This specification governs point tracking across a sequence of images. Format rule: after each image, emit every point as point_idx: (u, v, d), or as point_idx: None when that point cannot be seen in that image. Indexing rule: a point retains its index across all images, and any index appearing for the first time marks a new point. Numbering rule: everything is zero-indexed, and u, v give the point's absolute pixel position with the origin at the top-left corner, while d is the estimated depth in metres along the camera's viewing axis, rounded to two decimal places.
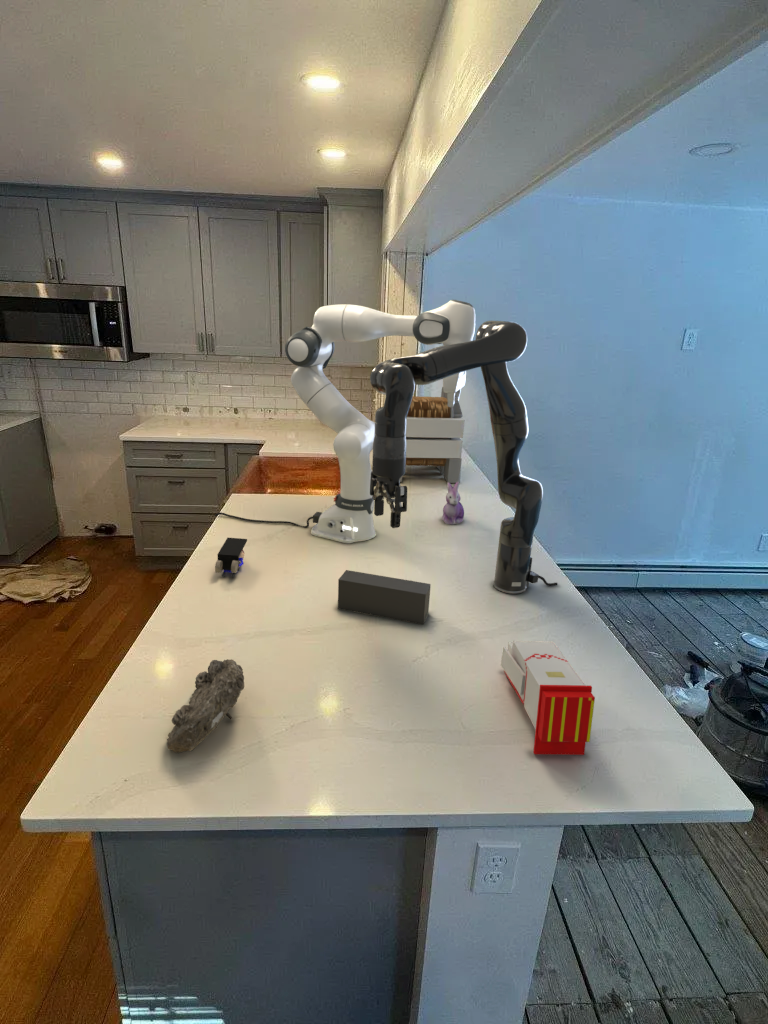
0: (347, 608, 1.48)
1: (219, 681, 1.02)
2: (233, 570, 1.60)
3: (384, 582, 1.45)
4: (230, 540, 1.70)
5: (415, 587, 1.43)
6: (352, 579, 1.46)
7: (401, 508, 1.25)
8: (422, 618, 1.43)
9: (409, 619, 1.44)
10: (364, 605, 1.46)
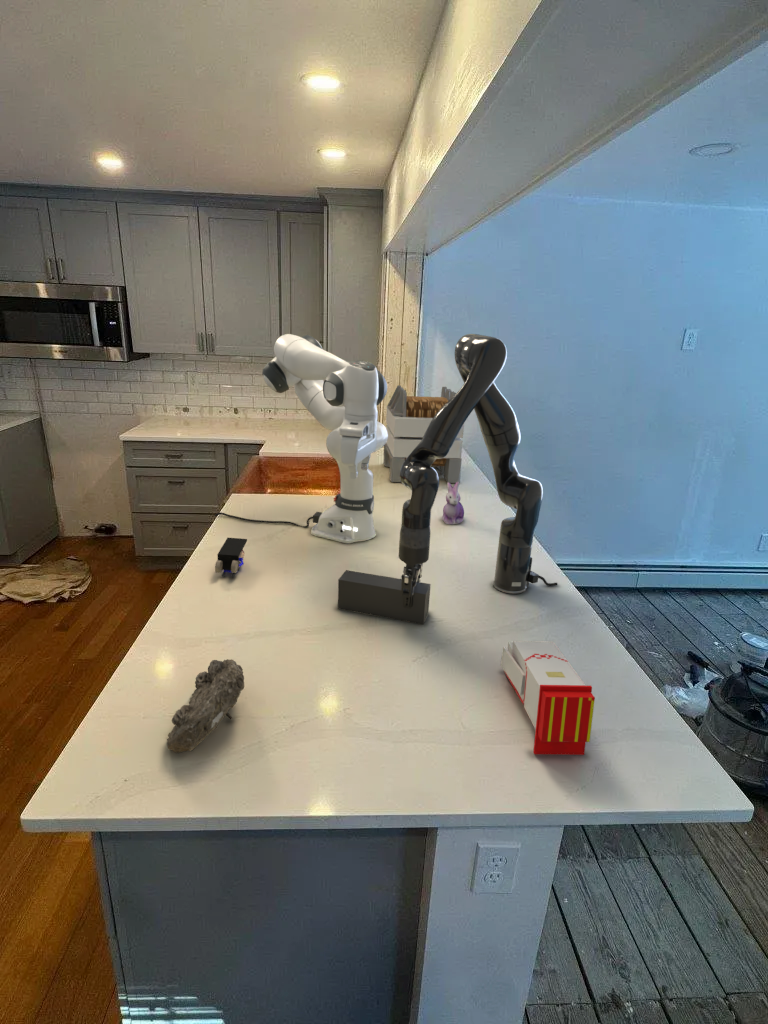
0: (347, 608, 1.48)
1: (219, 681, 1.02)
2: (233, 570, 1.60)
3: (384, 582, 1.45)
4: (230, 540, 1.70)
5: (415, 587, 1.43)
6: (352, 579, 1.46)
7: (406, 593, 1.38)
8: (422, 618, 1.43)
9: (409, 619, 1.44)
10: (364, 605, 1.46)
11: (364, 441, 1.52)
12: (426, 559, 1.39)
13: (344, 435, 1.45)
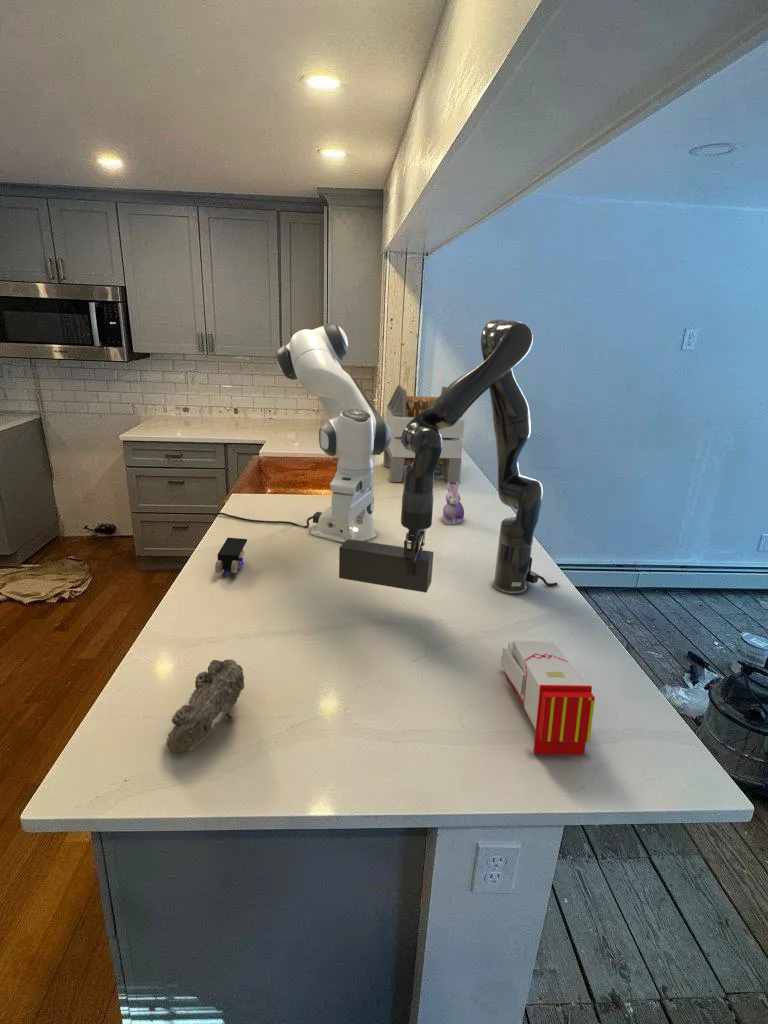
0: (349, 577, 1.45)
1: (219, 681, 1.02)
2: (233, 570, 1.60)
3: (386, 550, 1.42)
4: (230, 540, 1.70)
5: (417, 555, 1.40)
6: (353, 547, 1.43)
7: (408, 559, 1.35)
8: (425, 586, 1.40)
9: (412, 587, 1.41)
10: (366, 574, 1.43)
11: (358, 496, 1.39)
12: (429, 525, 1.36)
13: (335, 492, 1.32)
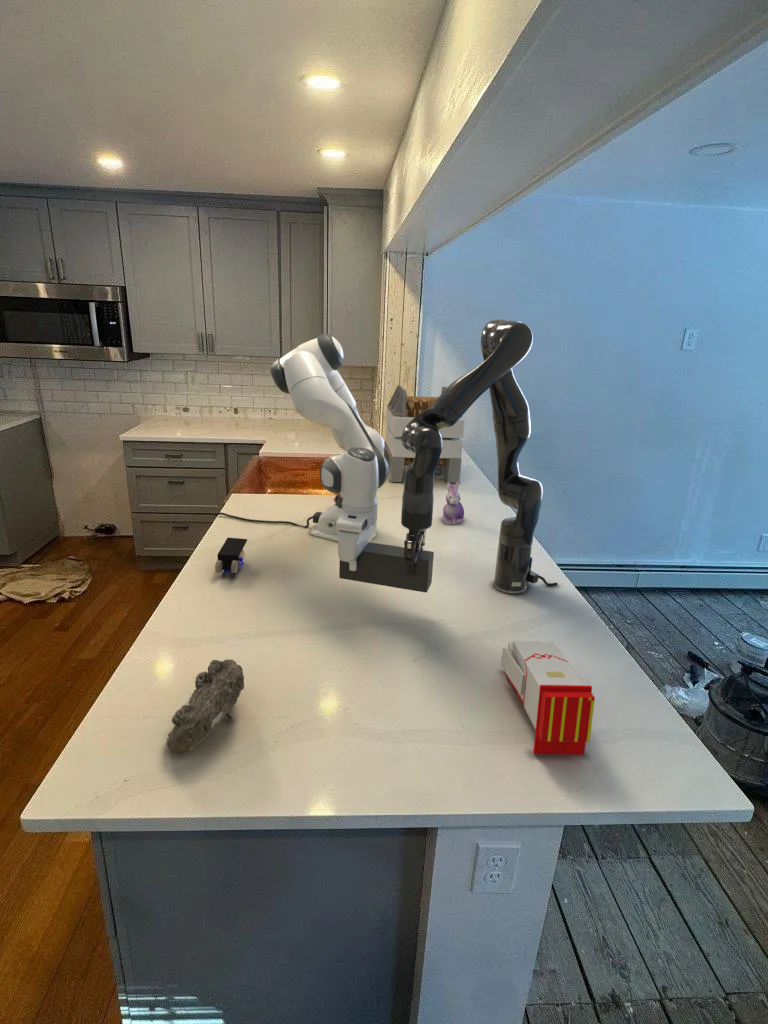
0: (349, 577, 1.45)
1: (219, 681, 1.02)
2: (233, 570, 1.60)
3: (387, 550, 1.42)
4: (230, 540, 1.70)
5: (418, 555, 1.40)
6: None
7: (408, 559, 1.35)
8: (425, 586, 1.40)
9: (412, 587, 1.41)
10: (366, 574, 1.43)
11: (363, 532, 1.42)
12: (429, 525, 1.36)
13: (341, 530, 1.35)
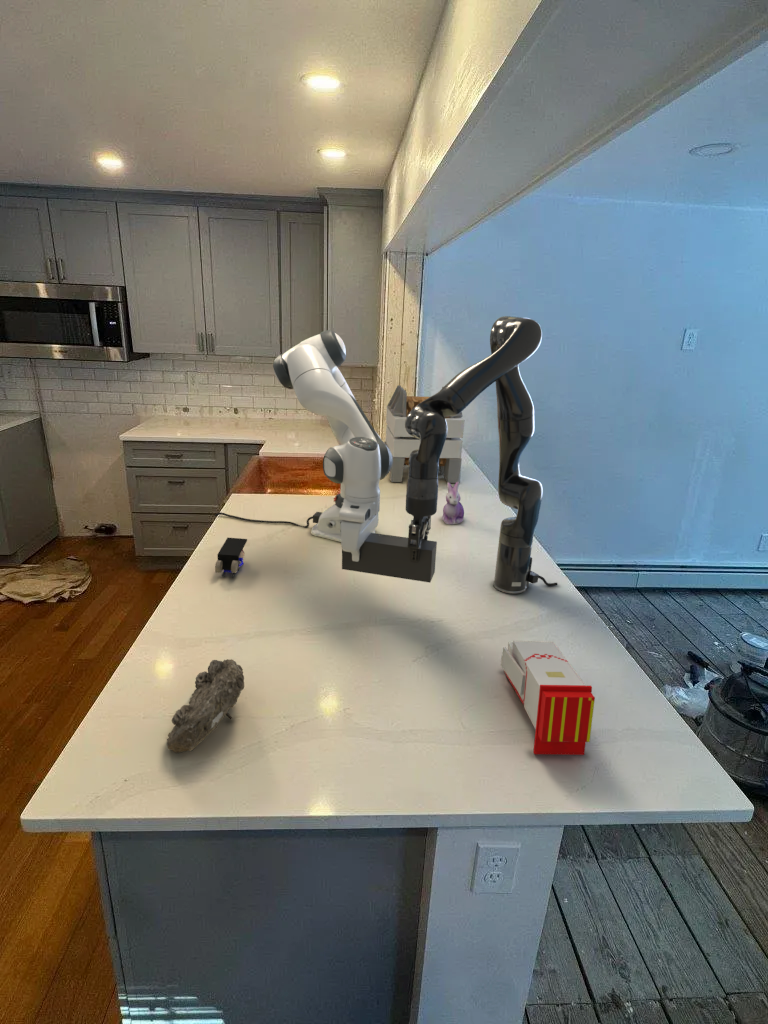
0: (352, 568, 1.44)
1: (219, 681, 1.02)
2: (233, 570, 1.60)
3: (389, 540, 1.41)
4: (230, 540, 1.70)
5: (421, 545, 1.39)
6: None
7: (412, 545, 1.33)
8: (429, 576, 1.39)
9: (415, 577, 1.40)
10: (369, 564, 1.42)
11: (366, 522, 1.41)
12: (434, 511, 1.35)
13: (344, 520, 1.34)
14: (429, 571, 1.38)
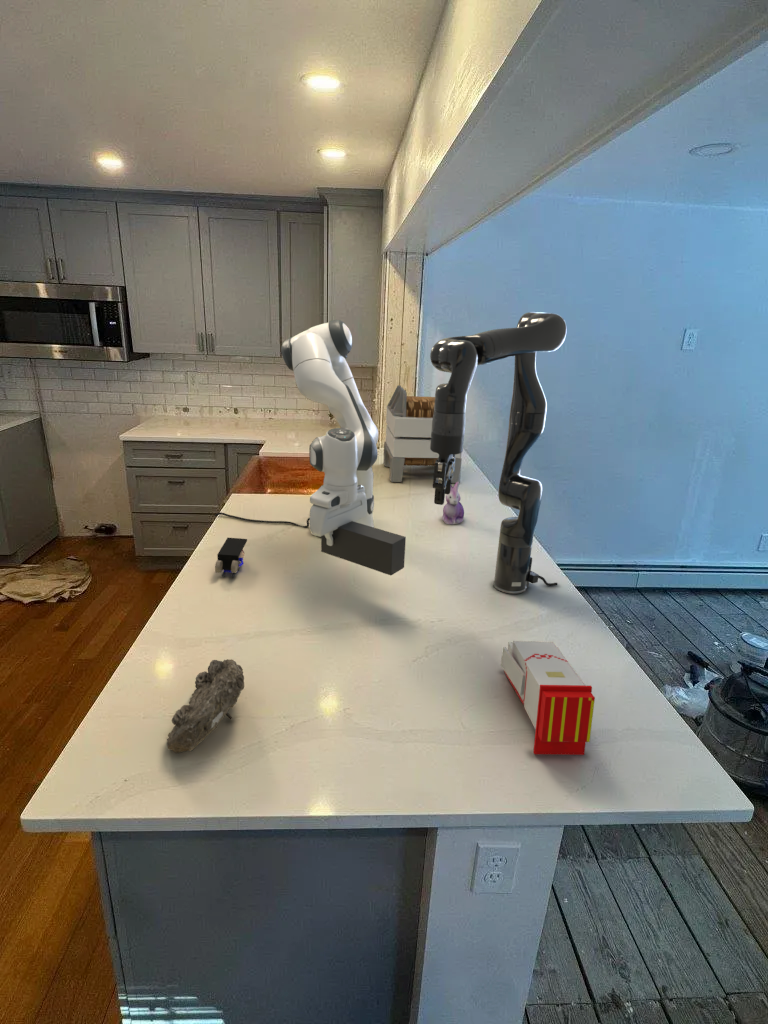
0: (329, 552, 1.52)
1: (219, 681, 1.02)
2: (233, 570, 1.60)
3: (361, 530, 1.47)
4: (230, 540, 1.70)
5: (387, 537, 1.42)
6: None
7: (438, 484, 1.26)
8: (390, 569, 1.41)
9: (379, 568, 1.43)
10: (342, 550, 1.49)
11: (341, 510, 1.48)
12: (460, 450, 1.28)
13: (314, 504, 1.43)
14: (390, 564, 1.41)
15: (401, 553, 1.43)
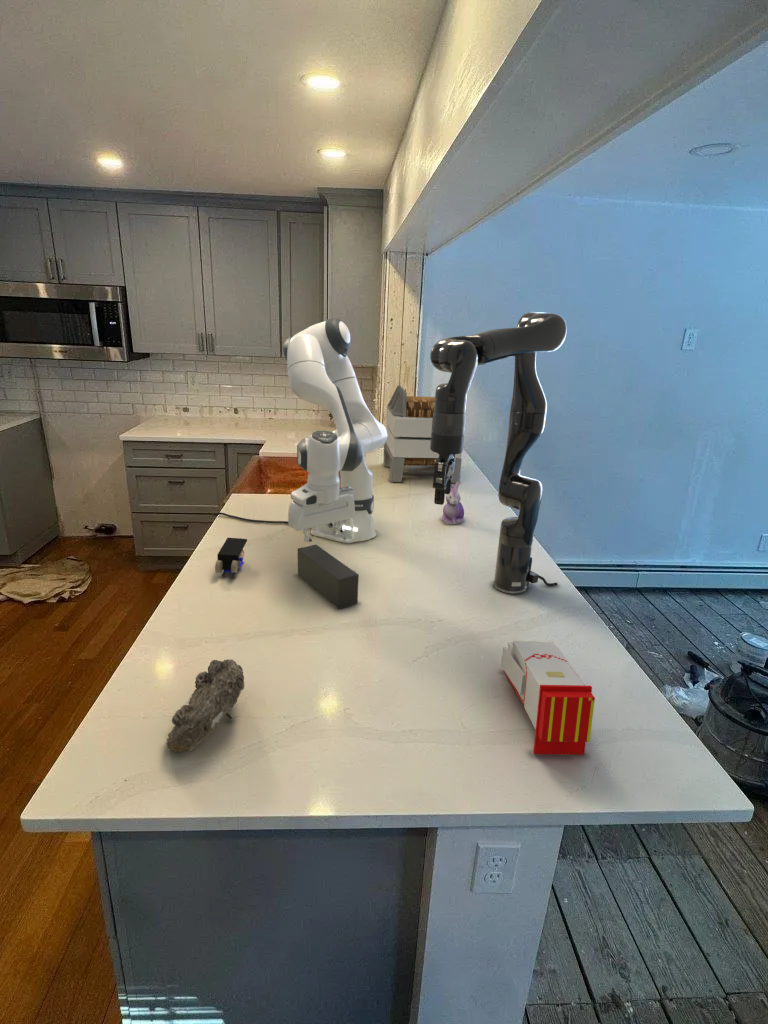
0: (302, 576, 1.64)
1: (219, 681, 1.02)
2: (233, 570, 1.60)
3: (325, 561, 1.56)
4: (230, 540, 1.70)
5: (340, 572, 1.50)
6: (307, 551, 1.61)
7: (438, 484, 1.26)
8: (337, 602, 1.48)
9: (331, 600, 1.51)
10: (309, 577, 1.60)
11: (322, 508, 1.55)
12: (460, 450, 1.28)
13: (293, 500, 1.51)
14: (337, 598, 1.48)
15: (352, 589, 1.50)
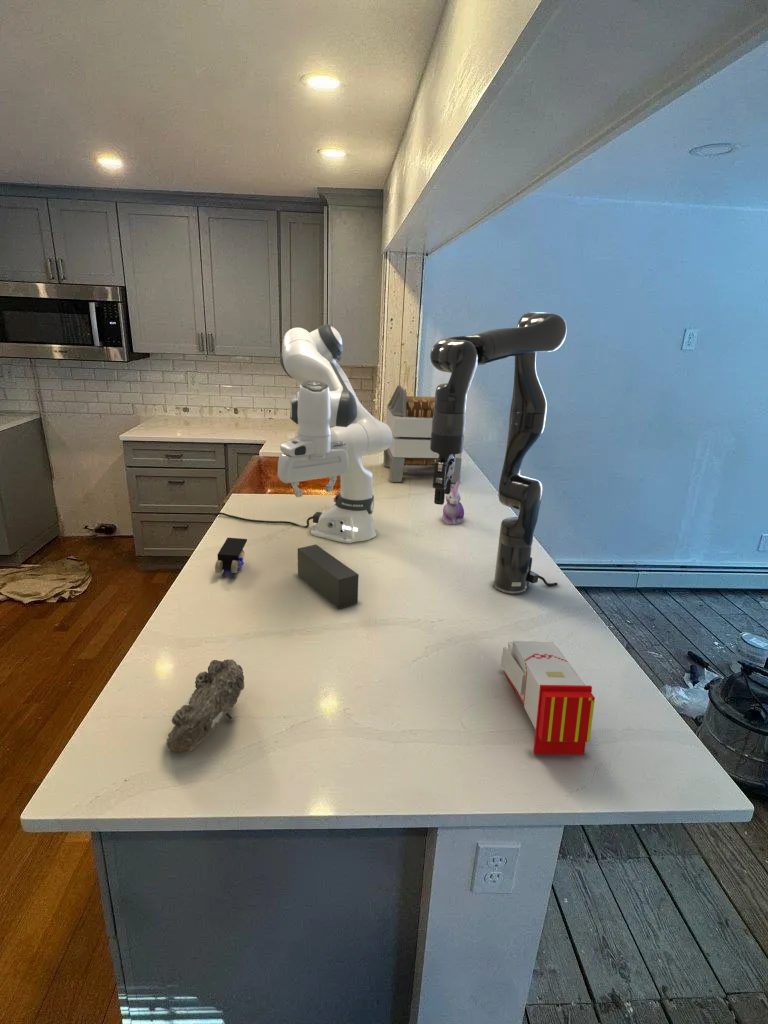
0: (302, 576, 1.64)
1: (219, 681, 1.02)
2: (233, 570, 1.60)
3: (325, 561, 1.56)
4: (230, 540, 1.70)
5: (340, 572, 1.50)
6: (307, 551, 1.61)
7: (438, 484, 1.26)
8: (337, 602, 1.48)
9: (331, 600, 1.51)
10: (309, 577, 1.60)
11: (313, 462, 1.50)
12: (460, 450, 1.28)
13: (283, 452, 1.48)
14: (337, 598, 1.48)
15: (352, 589, 1.50)
